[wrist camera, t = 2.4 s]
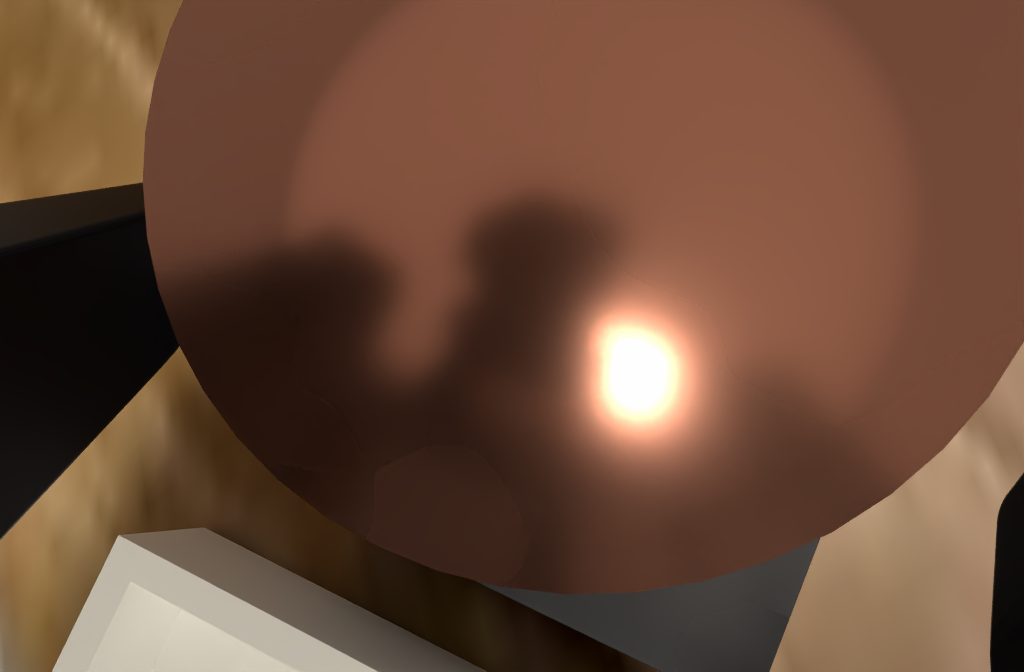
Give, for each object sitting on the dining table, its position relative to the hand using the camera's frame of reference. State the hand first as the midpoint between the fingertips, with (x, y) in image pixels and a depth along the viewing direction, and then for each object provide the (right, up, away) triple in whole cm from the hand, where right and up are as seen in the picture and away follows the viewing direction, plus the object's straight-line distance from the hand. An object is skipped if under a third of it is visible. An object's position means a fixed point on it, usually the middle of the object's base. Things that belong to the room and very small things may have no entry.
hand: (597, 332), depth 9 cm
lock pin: (+1, -1, +8) cm, 8 cm away
